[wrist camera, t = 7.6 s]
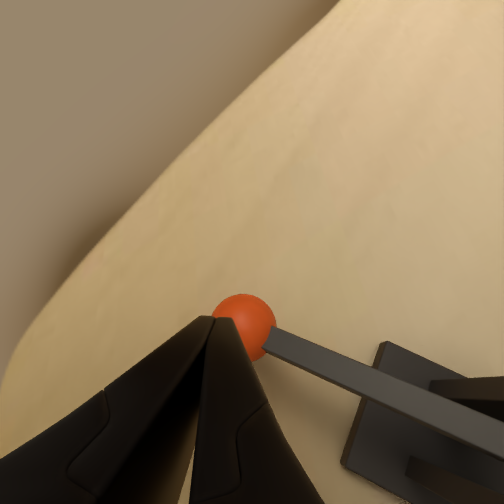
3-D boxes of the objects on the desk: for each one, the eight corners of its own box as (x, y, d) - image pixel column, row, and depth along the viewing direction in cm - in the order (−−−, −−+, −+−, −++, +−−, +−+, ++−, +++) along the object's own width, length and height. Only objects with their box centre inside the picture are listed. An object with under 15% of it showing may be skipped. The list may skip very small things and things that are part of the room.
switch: (213, 353, 18) (185, 336, 15) (240, 299, 19) (219, 274, 16) (630, 564, 10) (719, 604, 8) (637, 456, 11) (717, 458, 9)
